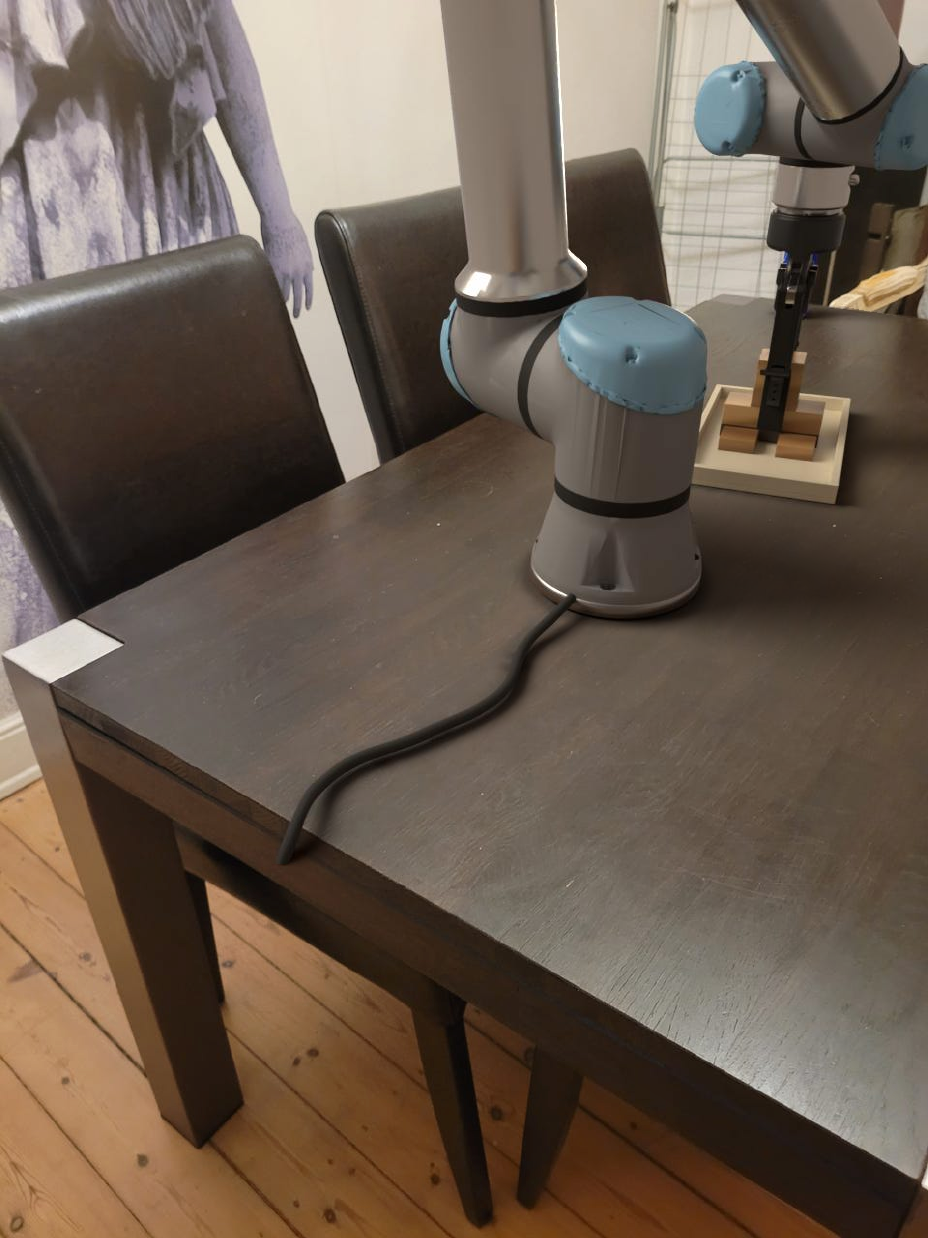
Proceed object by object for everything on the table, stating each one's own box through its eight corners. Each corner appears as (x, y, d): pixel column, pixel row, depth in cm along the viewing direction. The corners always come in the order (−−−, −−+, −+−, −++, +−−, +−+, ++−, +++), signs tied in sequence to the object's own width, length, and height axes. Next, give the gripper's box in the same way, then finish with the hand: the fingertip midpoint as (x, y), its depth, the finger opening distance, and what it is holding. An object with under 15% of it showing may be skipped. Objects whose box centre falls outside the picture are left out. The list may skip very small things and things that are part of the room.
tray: (834, 504, 96) (838, 485, 95) (674, 481, 101) (676, 463, 100) (847, 414, 117) (851, 398, 116) (714, 399, 122) (716, 383, 121)
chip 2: (811, 461, 103) (814, 449, 103) (774, 457, 105) (776, 444, 104) (814, 448, 107) (816, 436, 106) (778, 444, 108) (780, 432, 107)
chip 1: (753, 454, 106) (755, 441, 105) (717, 449, 107) (719, 437, 106) (757, 441, 109) (759, 429, 108) (722, 437, 110) (724, 425, 109)
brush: (816, 448, 106) (833, 366, 101) (719, 435, 110) (730, 356, 105) (818, 434, 110) (835, 354, 105) (724, 422, 113) (736, 345, 108)
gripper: (842, 225, 88) (797, 453, 101) (850, 196, 102) (810, 401, 115) (762, 221, 91) (727, 444, 103) (780, 193, 104) (748, 394, 117)
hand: (771, 421), depth 109 cm, fingers closed on brush, 4 cm apart
